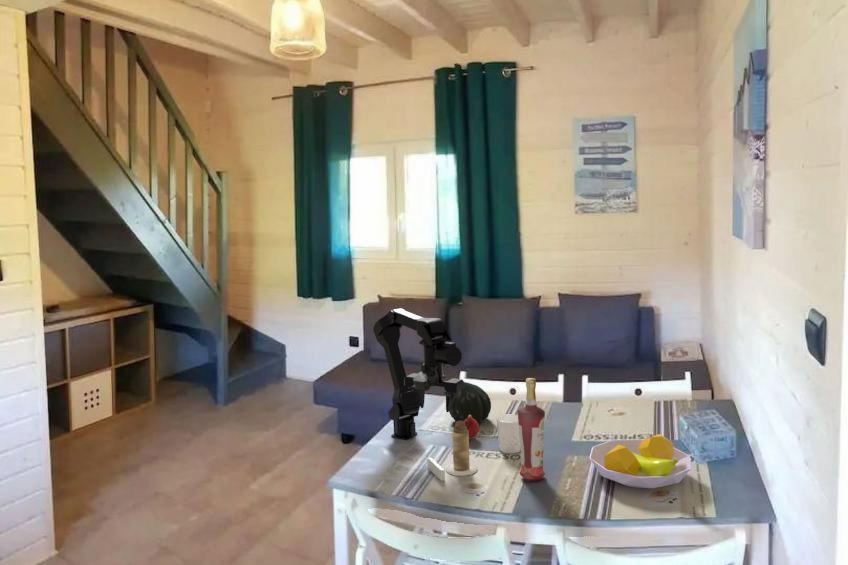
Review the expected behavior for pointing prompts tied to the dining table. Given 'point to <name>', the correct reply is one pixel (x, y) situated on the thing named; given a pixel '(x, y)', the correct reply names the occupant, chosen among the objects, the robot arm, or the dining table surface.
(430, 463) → the divider wall
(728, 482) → the dining table surface
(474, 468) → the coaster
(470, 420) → the onion
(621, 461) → the fruit bowl
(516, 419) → the white cup
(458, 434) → the pepper mill
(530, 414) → the liquor
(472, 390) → the squash
